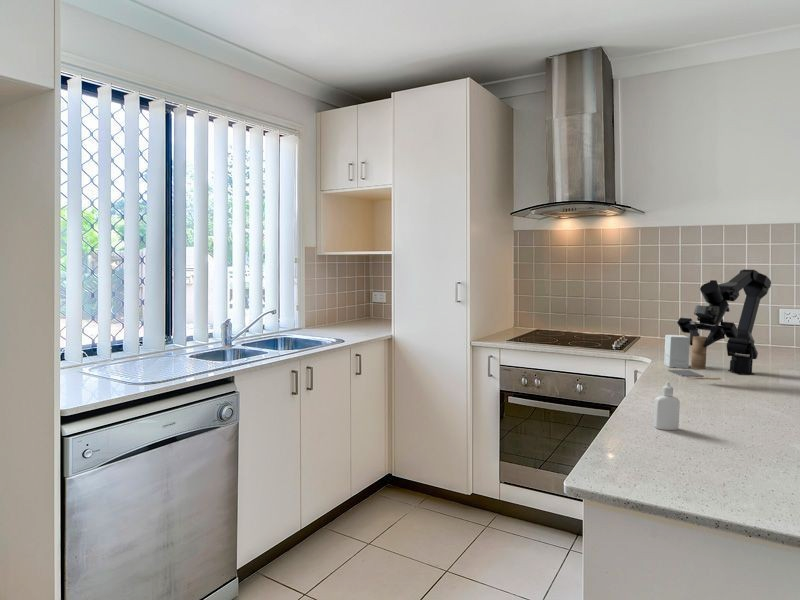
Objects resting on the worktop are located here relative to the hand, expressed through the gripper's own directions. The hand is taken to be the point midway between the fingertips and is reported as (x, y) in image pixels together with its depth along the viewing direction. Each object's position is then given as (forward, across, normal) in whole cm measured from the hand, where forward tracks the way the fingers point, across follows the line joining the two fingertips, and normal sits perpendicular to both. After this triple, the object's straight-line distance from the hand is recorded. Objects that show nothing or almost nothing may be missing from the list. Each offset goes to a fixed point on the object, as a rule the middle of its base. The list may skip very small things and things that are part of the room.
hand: (697, 345), depth 182 cm
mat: (0, -10, +19) cm, 22 cm away
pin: (+5, 0, +7) cm, 8 cm away
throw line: (+2, -3, +17) cm, 17 cm away
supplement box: (-8, -21, +27) cm, 35 cm away
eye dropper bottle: (+51, +22, -32) cm, 64 cm away
